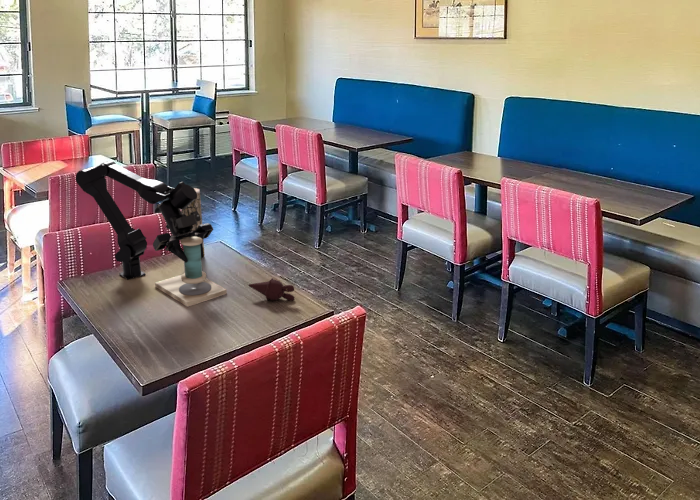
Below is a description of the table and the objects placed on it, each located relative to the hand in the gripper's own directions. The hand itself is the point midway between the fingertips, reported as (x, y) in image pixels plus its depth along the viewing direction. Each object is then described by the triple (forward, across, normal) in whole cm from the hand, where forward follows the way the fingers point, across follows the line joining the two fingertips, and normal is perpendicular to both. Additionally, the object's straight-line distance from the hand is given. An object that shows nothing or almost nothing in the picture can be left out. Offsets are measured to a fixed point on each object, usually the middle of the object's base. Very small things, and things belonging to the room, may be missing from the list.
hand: (195, 259), depth 200 cm
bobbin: (+4, 0, +6) cm, 7 cm away
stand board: (+5, 0, +11) cm, 13 cm away
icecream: (+22, +15, -5) cm, 27 cm away
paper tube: (-12, +16, +28) cm, 35 cm away
